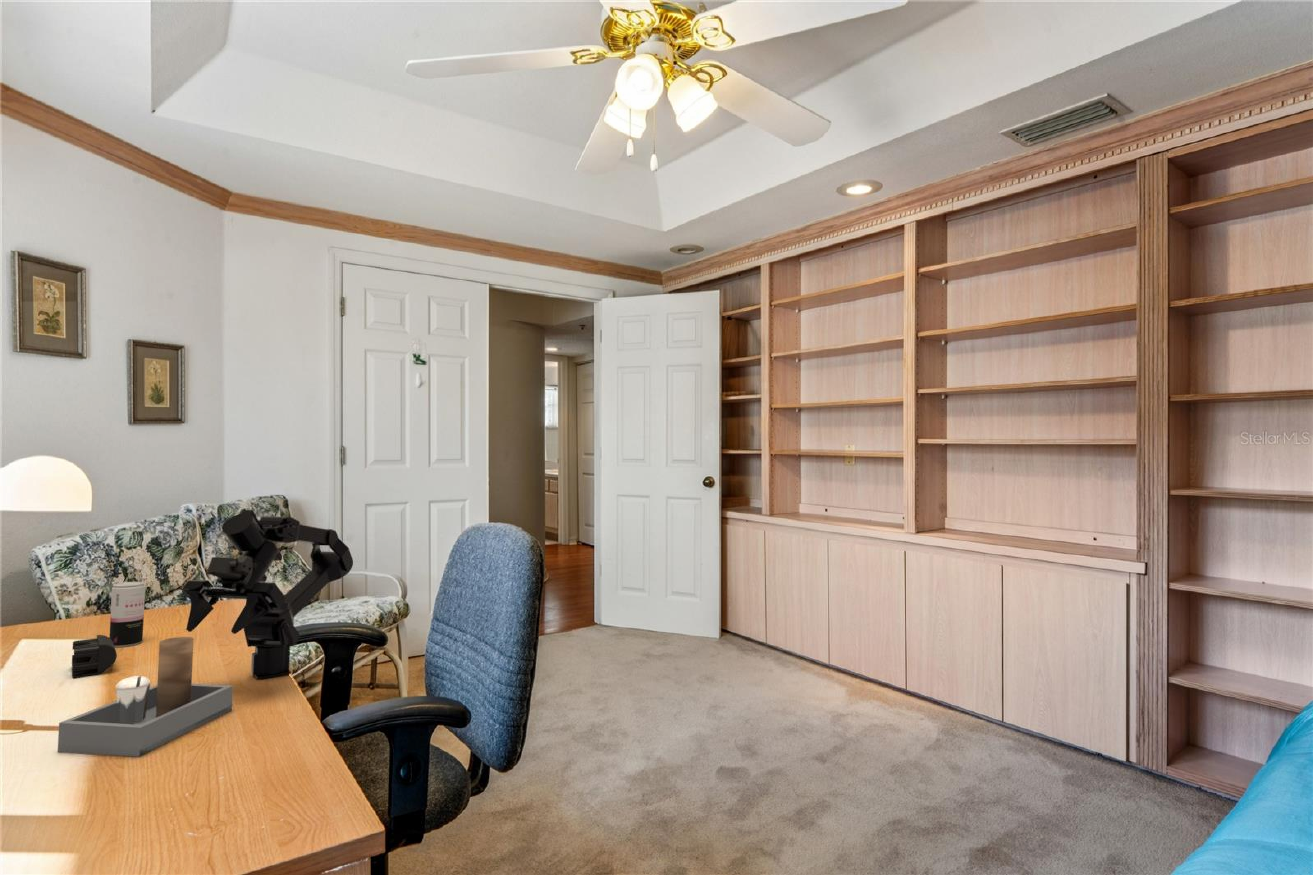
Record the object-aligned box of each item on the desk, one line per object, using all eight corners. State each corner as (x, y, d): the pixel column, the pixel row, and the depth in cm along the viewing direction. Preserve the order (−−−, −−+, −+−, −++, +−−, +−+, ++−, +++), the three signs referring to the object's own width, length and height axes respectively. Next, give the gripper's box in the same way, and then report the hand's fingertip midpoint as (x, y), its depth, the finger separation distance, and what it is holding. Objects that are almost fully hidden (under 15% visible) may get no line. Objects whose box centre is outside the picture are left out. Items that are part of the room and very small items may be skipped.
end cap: (116, 673, 144) (117, 641, 145) (72, 680, 140) (74, 647, 140) (112, 662, 152) (114, 632, 152) (71, 668, 147) (73, 637, 147)
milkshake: (119, 742, 107) (122, 679, 107) (110, 733, 110) (113, 672, 111) (153, 734, 111) (156, 673, 111) (143, 725, 114) (146, 666, 114)
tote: (162, 706, 125) (163, 682, 126) (231, 710, 124) (232, 685, 124) (57, 751, 106) (59, 722, 106) (139, 756, 104) (140, 727, 104)
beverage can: (104, 645, 165) (107, 584, 166) (135, 639, 171) (138, 580, 172) (115, 649, 162) (118, 587, 163) (147, 643, 168) (150, 583, 168)
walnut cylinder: (179, 707, 123) (183, 635, 123) (196, 711, 121) (199, 639, 121) (149, 716, 118) (153, 641, 119) (166, 721, 116) (169, 645, 117)
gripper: (191, 539, 135) (141, 606, 123) (278, 542, 133) (235, 610, 122) (218, 572, 142) (174, 638, 131) (301, 575, 141) (263, 642, 129)
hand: (210, 631), depth 128 cm, fingers open, 9 cm apart
